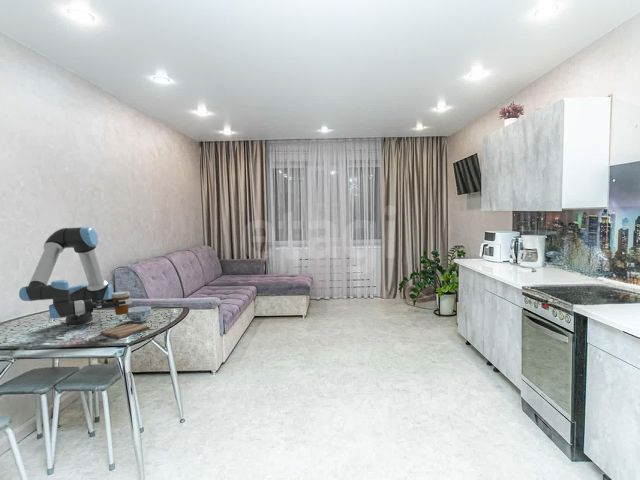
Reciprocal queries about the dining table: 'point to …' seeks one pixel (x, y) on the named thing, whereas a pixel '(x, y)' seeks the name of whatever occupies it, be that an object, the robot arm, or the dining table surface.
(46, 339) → the dining table surface
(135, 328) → the walnut board
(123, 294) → the disposable coffee cup
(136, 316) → the chinaware
